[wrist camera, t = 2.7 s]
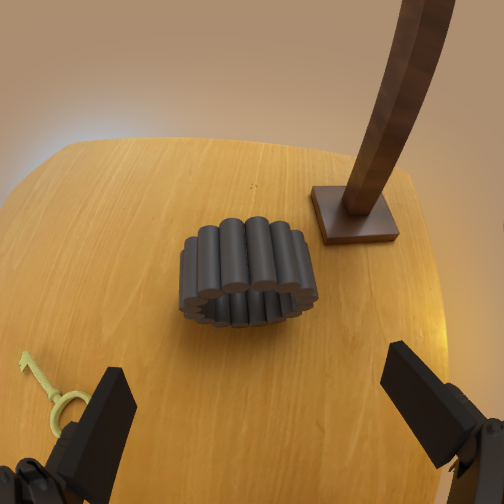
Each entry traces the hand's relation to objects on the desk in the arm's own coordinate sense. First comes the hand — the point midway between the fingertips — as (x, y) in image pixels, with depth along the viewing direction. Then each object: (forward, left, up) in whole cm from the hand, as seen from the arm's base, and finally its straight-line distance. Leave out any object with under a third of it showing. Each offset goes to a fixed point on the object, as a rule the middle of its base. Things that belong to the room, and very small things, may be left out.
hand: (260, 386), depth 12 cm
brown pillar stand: (-8, -20, -13) cm, 25 cm away
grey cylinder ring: (+3, -8, -13) cm, 16 cm away
